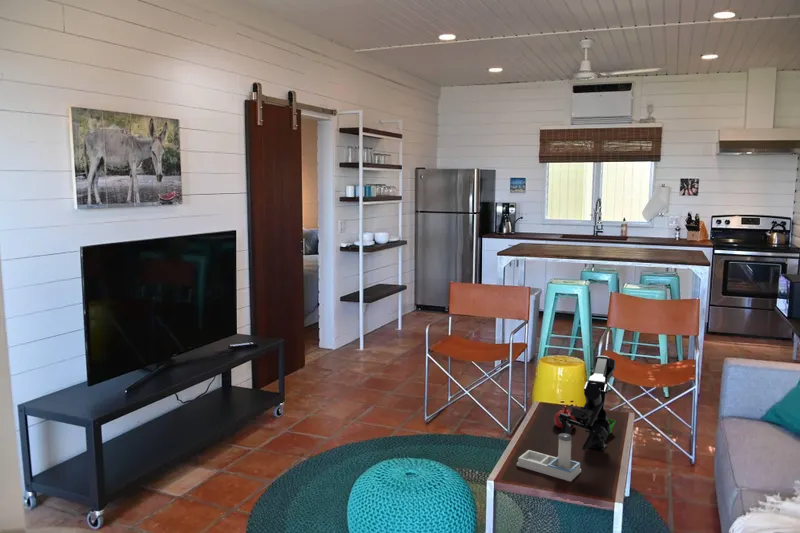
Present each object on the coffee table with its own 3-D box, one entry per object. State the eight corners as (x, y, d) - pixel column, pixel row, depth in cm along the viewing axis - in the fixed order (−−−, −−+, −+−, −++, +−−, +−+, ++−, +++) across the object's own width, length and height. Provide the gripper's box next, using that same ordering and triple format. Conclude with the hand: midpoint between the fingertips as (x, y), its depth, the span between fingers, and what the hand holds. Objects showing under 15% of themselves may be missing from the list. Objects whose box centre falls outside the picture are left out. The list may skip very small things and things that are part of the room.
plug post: (560, 466, 234) (561, 432, 232) (572, 469, 231) (574, 435, 229) (554, 470, 230) (556, 436, 229) (567, 474, 227) (569, 439, 226)
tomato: (560, 433, 268) (560, 412, 267) (549, 424, 278) (549, 403, 276) (581, 430, 270) (582, 409, 269) (570, 421, 280) (570, 401, 279)
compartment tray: (528, 456, 244) (528, 448, 244) (581, 471, 232) (581, 462, 231) (516, 465, 237) (517, 456, 236) (570, 481, 224) (571, 472, 224)
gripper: (561, 392, 241) (542, 427, 236) (604, 405, 227) (585, 443, 221) (573, 407, 247) (554, 441, 242) (616, 421, 233) (597, 458, 227)
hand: (572, 445), depth 233 cm, fingers open, 9 cm apart
